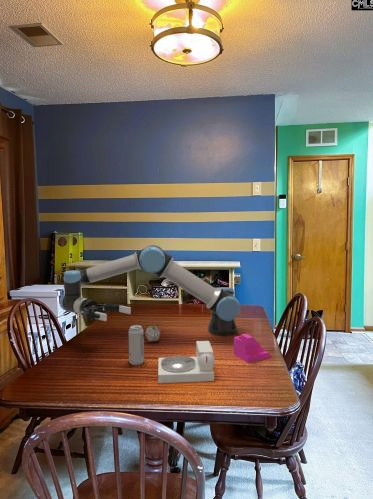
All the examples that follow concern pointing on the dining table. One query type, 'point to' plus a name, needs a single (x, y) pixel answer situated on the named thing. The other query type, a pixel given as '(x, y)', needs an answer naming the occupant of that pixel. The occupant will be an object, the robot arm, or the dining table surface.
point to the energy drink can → (136, 345)
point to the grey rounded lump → (152, 333)
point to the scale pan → (178, 363)
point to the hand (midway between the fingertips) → (118, 314)
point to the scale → (198, 373)
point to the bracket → (249, 349)
